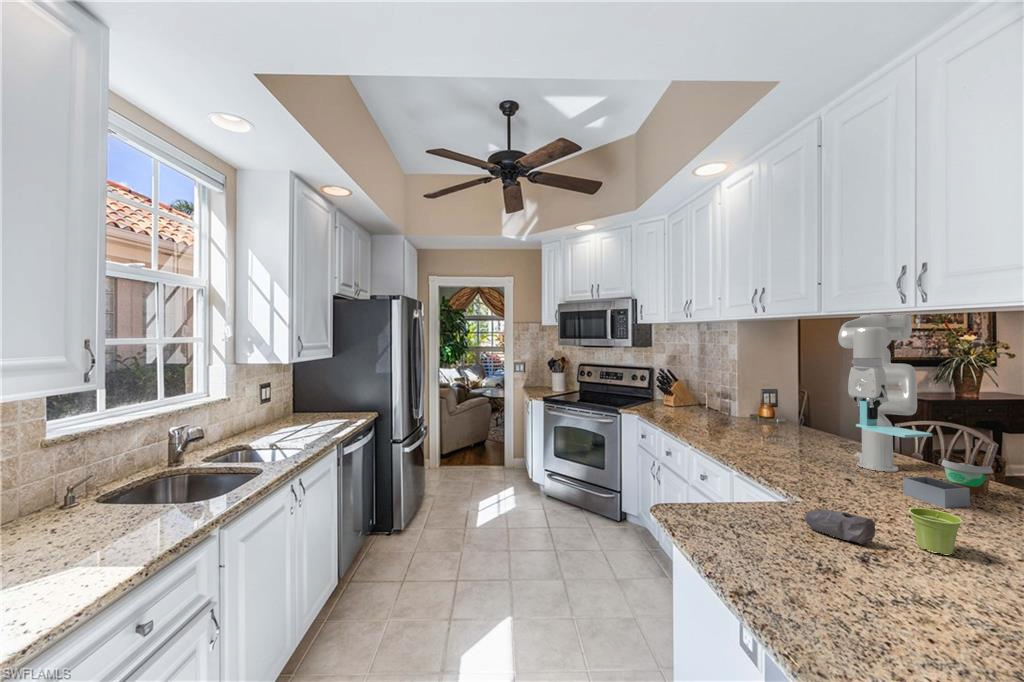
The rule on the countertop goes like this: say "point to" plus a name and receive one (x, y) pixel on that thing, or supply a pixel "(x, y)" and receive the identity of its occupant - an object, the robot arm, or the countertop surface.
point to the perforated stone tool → (841, 525)
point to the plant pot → (935, 529)
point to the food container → (968, 476)
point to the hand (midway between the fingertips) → (868, 417)
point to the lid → (872, 426)
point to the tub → (936, 492)
